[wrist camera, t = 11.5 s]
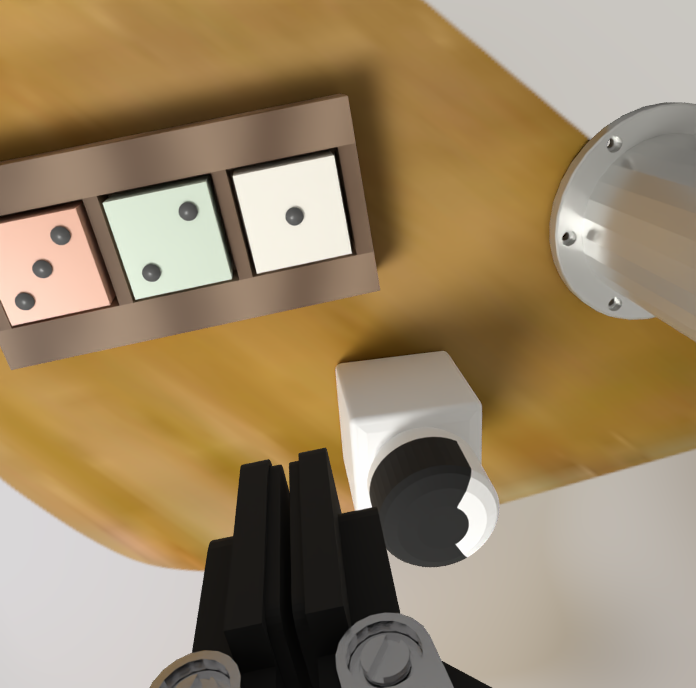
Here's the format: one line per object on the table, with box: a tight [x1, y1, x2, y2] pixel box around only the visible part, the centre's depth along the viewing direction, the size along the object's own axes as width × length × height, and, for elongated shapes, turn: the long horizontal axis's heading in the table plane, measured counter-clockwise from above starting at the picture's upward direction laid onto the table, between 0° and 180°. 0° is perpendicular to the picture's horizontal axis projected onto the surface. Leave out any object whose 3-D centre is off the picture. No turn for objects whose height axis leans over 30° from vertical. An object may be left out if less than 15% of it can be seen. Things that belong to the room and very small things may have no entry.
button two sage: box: [103, 174, 234, 300], centre depth 33 cm, size 5×5×2 cm
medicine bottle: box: [335, 351, 500, 567], centre depth 36 cm, size 7×7×12 cm
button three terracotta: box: [0, 200, 116, 326], centre depth 32 cm, size 5×5×2 cm
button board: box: [0, 93, 380, 370], centre depth 33 cm, size 20×10×3 cm, turn 100°
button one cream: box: [233, 150, 352, 274], centre depth 33 cm, size 5×5×2 cm
